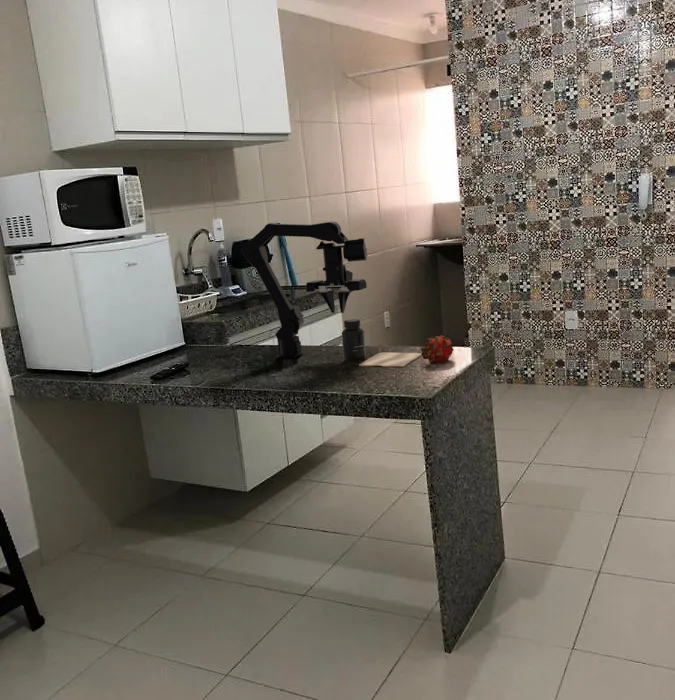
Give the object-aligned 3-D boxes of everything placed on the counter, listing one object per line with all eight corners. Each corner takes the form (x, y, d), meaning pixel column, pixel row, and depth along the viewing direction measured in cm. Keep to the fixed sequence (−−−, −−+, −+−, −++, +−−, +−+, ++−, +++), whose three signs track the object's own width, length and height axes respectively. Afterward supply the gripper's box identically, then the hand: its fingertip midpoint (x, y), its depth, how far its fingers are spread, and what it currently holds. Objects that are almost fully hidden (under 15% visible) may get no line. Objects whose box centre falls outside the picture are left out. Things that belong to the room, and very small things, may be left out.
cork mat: (358, 366, 216) (358, 364, 216) (380, 353, 230) (380, 352, 230) (403, 367, 210) (403, 365, 210) (423, 354, 224) (423, 353, 224)
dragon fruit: (423, 373, 208) (446, 369, 217) (445, 356, 203) (467, 353, 212) (409, 347, 211) (432, 344, 220) (430, 330, 206) (453, 328, 215)
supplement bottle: (360, 362, 221) (357, 322, 219) (339, 361, 224) (336, 322, 222) (369, 356, 227) (366, 318, 225) (349, 356, 230) (346, 318, 228)
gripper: (372, 258, 232) (375, 308, 235) (319, 261, 241) (323, 308, 244) (356, 263, 223) (360, 314, 226) (302, 265, 231) (307, 314, 234)
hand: (338, 312), depth 233 cm, fingers open, 3 cm apart
